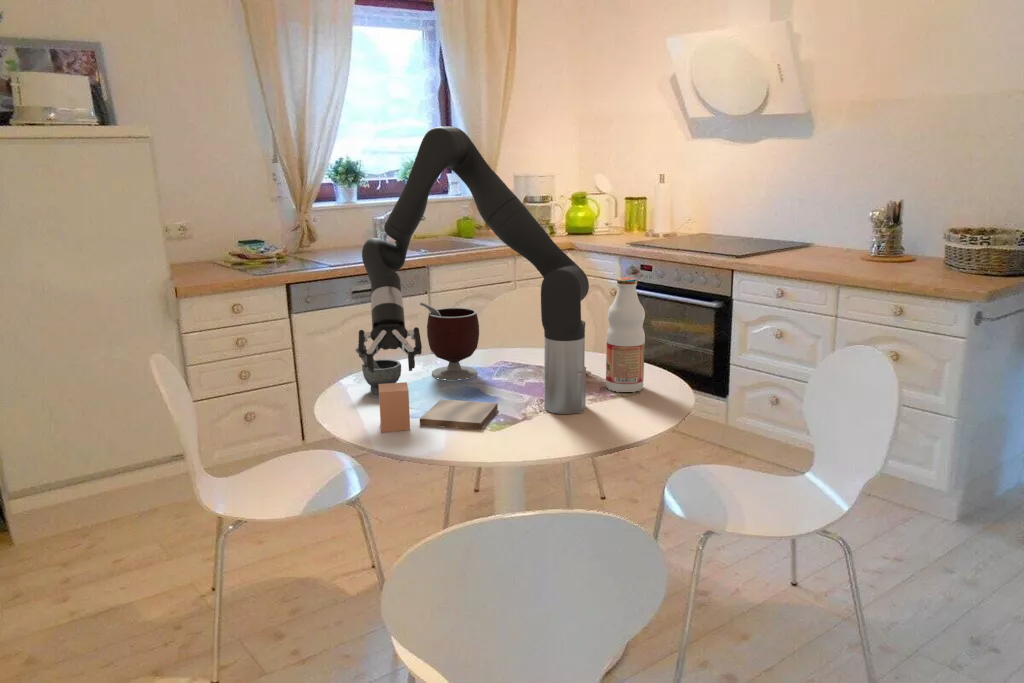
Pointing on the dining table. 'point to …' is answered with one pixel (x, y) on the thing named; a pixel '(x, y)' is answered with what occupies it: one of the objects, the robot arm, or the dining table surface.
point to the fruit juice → (625, 339)
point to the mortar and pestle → (381, 372)
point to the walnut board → (459, 414)
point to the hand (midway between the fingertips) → (391, 370)
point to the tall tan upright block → (394, 407)
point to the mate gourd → (452, 339)
